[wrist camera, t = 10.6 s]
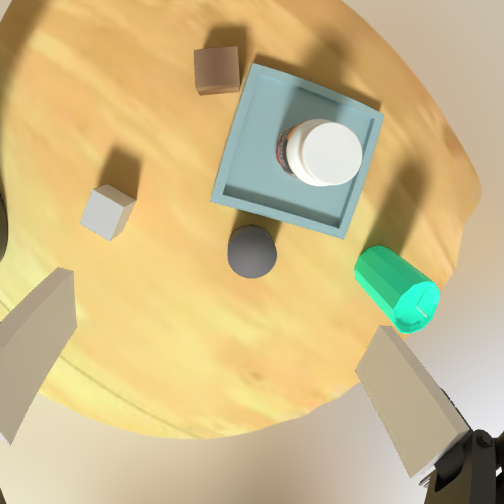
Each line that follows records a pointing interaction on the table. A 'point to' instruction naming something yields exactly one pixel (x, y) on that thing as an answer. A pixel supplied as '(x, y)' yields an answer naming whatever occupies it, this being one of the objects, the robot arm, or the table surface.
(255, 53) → the table surface
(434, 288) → the candle
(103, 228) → the grey block
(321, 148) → the pill bottle
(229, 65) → the walnut block
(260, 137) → the tray
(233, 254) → the dark grey stone
